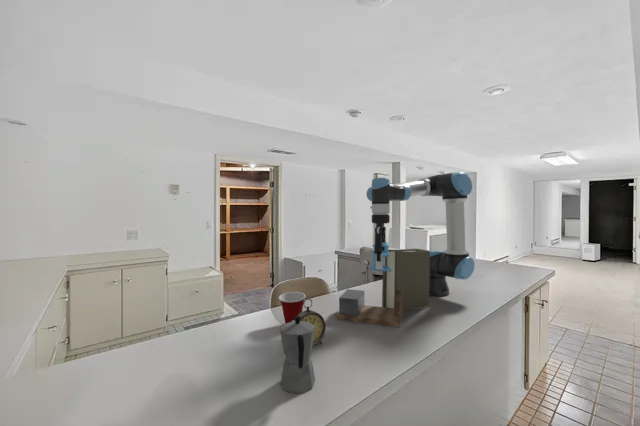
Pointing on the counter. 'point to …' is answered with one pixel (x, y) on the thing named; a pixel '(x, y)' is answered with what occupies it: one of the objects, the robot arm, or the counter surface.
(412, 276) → the book
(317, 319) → the alarm clock
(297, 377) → the coffeepot
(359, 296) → the gray block
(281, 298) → the plastic cup
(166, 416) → the counter surface
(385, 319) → the wooden l-shaped stand
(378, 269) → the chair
